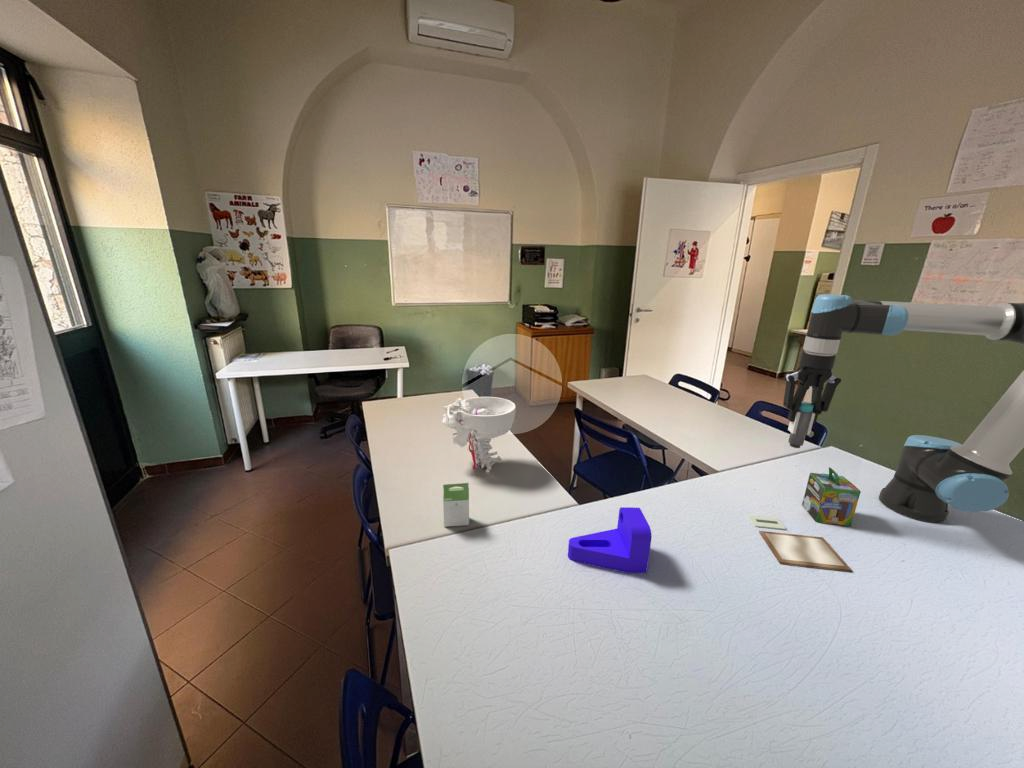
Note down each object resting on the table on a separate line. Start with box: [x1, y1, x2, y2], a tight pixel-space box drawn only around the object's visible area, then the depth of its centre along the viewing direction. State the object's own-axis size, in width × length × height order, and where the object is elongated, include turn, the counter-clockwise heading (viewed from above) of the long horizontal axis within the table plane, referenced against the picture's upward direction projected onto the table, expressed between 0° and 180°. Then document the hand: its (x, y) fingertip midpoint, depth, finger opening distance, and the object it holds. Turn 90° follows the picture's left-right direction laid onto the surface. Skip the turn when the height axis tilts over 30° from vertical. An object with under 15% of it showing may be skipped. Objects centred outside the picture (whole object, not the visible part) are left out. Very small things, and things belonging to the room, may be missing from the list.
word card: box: [747, 514, 787, 531], centre depth 115 cm, size 8×5×1 cm, turn 81°
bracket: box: [567, 506, 652, 574], centre depth 99 cm, size 18×11×12 cm, turn 91°
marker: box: [788, 401, 814, 449], centre depth 115 cm, size 4×4×13 cm
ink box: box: [442, 482, 470, 528], centre depth 111 cm, size 7×4×13 cm, turn 97°
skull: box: [441, 396, 517, 473], centre depth 139 cm, size 25×19×23 cm
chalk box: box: [801, 467, 861, 527], centre depth 117 cm, size 9×9×15 cm
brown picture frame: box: [758, 530, 853, 573], centre depth 104 cm, size 16×12×1 cm
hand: (798, 432), depth 116 cm, fingers closed on marker, 3 cm apart
